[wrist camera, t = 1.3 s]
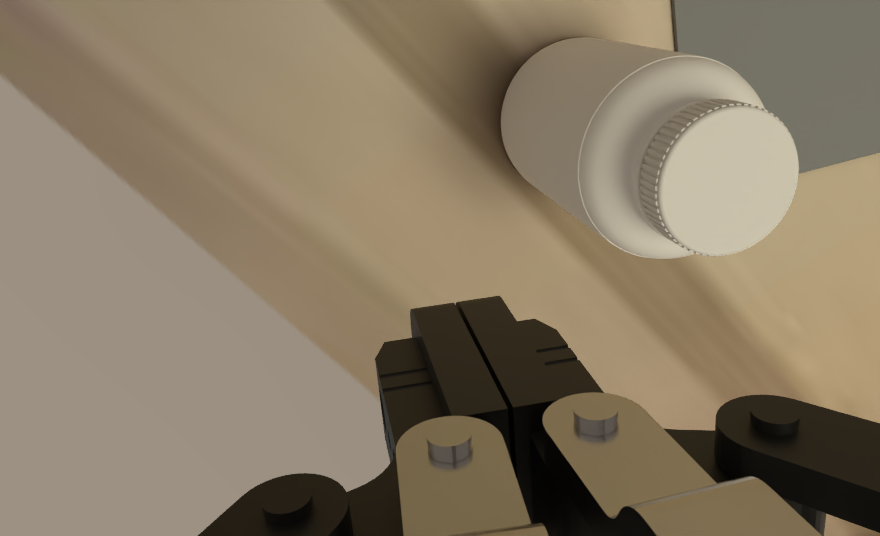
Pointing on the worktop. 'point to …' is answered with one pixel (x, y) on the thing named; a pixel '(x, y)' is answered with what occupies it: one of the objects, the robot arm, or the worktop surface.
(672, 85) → the pill bottle
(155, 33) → the worktop surface
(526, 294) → the worktop surface
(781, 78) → the mat
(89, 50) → the worktop surface
